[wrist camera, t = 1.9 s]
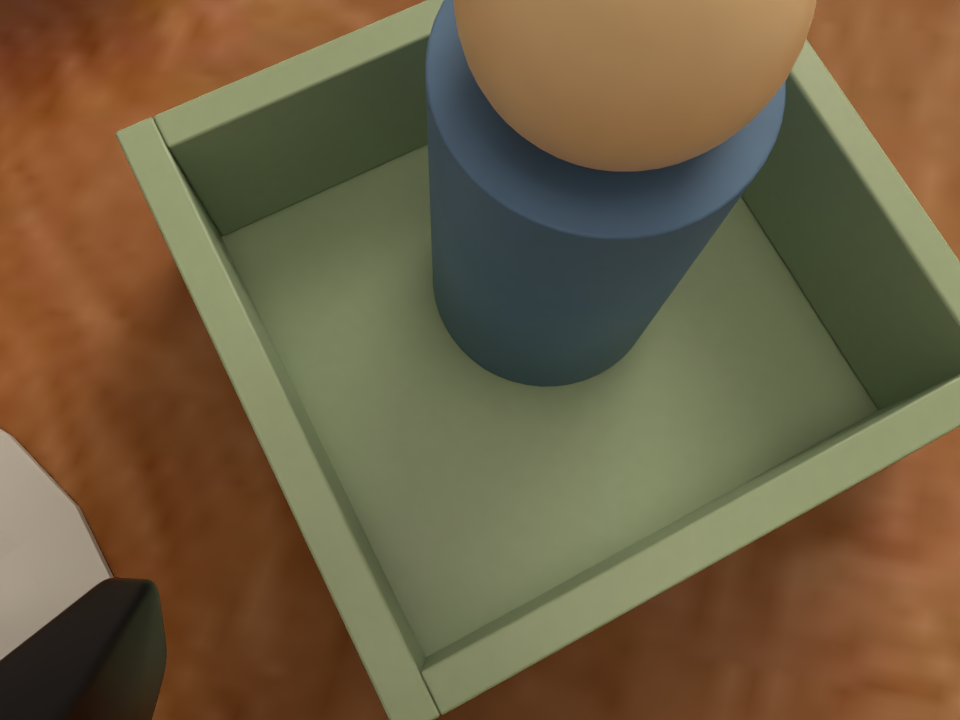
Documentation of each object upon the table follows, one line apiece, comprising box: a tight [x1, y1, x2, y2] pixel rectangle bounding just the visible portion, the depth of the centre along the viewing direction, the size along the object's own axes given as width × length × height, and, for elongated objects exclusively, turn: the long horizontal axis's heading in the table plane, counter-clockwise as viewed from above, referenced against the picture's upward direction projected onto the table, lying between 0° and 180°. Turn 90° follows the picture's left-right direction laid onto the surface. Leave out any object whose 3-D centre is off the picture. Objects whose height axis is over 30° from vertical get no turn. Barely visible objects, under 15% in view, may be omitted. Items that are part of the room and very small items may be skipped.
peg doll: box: [425, 0, 817, 387], centre depth 16 cm, size 5×5×13 cm
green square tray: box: [116, 0, 960, 720], centre depth 20 cm, size 14×13×6 cm
